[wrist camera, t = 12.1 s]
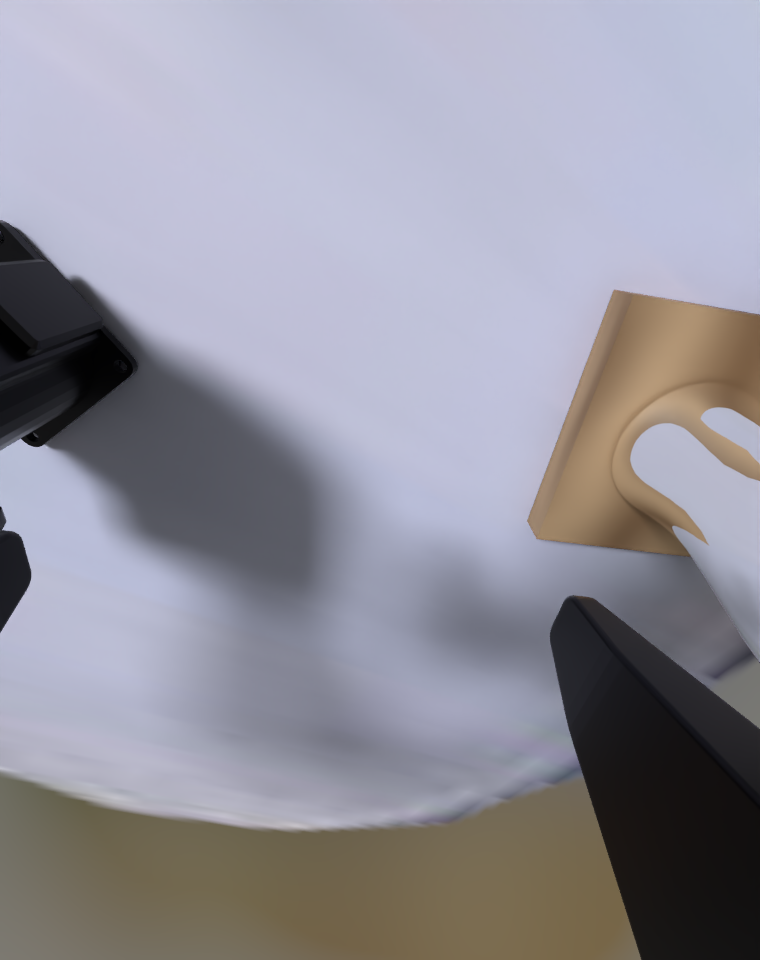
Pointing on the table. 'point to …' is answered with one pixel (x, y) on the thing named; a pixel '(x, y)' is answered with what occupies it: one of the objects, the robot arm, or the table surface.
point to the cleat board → (635, 411)
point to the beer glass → (703, 487)
